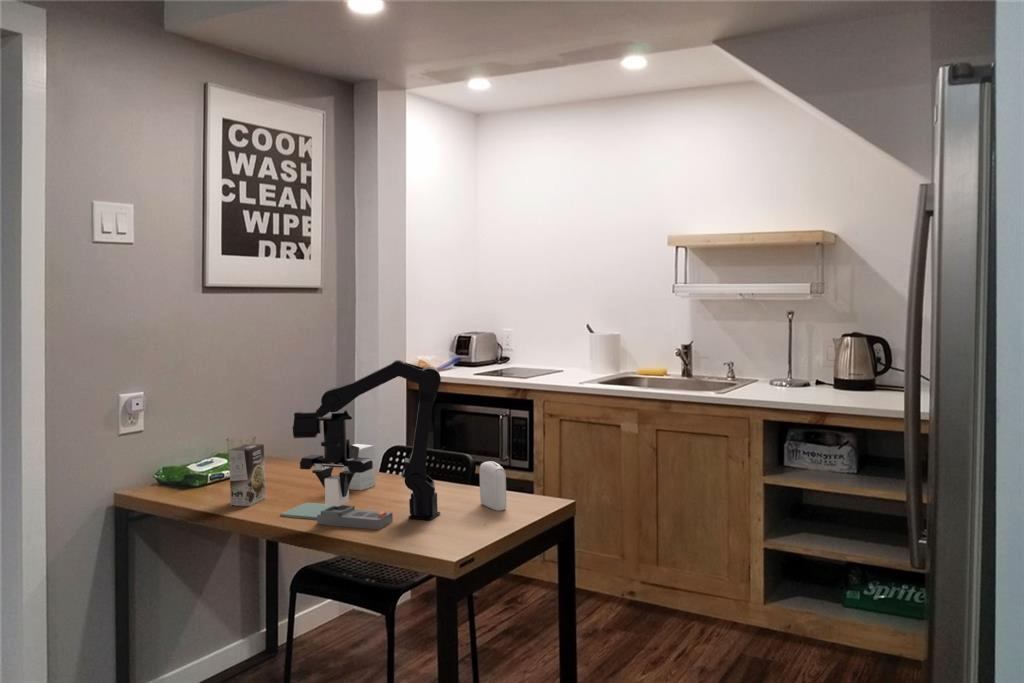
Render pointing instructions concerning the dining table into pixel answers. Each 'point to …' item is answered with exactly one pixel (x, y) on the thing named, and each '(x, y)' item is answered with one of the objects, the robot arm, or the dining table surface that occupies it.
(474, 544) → the dining table surface
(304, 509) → the rubber mat
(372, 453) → the supplement box
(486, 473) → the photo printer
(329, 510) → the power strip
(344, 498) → the charger
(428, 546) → the dining table surface
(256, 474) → the coffee box
